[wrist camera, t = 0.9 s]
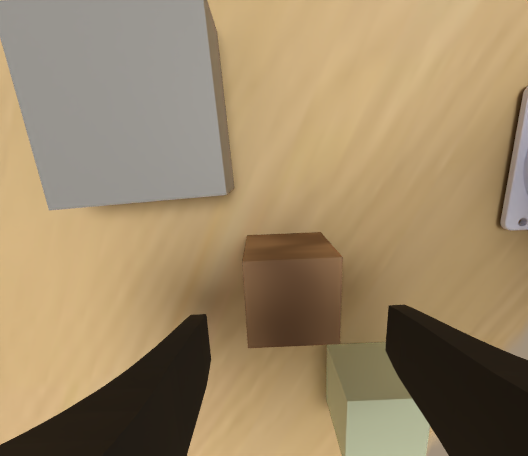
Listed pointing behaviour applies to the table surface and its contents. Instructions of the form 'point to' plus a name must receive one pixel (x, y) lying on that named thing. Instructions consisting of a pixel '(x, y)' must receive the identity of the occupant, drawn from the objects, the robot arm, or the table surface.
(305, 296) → the walnut block
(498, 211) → the table surface
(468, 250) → the table surface
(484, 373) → the robot arm
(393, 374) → the sage-green block
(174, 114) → the grey square block
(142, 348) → the table surface
